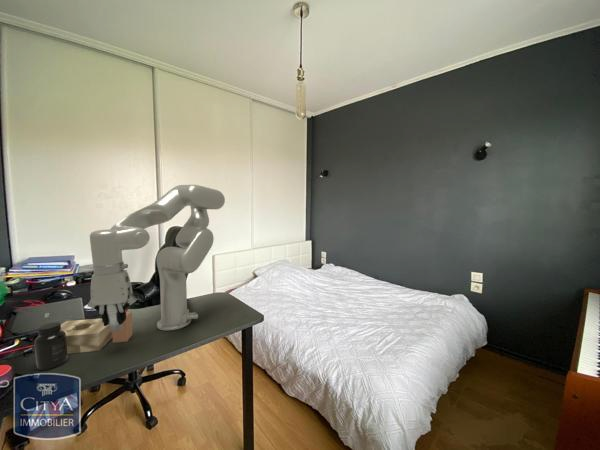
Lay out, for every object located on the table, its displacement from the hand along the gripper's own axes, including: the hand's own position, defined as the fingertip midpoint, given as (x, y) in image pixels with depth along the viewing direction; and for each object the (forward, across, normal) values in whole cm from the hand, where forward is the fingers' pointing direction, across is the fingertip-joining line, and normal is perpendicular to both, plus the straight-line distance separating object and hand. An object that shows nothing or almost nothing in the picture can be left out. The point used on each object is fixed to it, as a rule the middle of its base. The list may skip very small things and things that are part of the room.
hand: (114, 322), depth 82 cm
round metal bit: (+2, 0, 0) cm, 2 cm away
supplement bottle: (+10, +16, +4) cm, 19 cm away
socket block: (+10, +14, -8) cm, 19 cm away
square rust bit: (+10, +2, -8) cm, 14 cm away
